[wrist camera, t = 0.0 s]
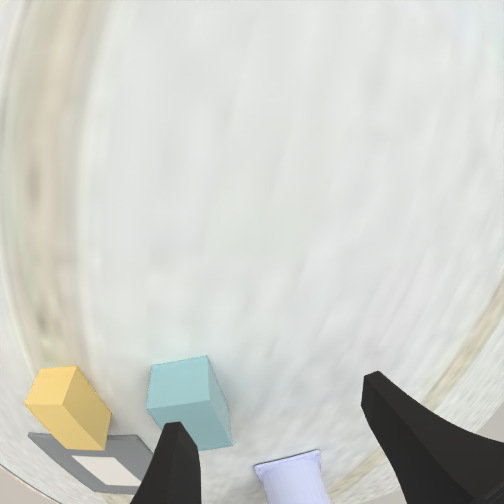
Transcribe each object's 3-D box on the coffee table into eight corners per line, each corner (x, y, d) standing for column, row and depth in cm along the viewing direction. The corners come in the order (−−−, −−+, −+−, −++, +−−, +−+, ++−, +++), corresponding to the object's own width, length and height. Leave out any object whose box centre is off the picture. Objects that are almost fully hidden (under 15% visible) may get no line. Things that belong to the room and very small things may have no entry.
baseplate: (189, 489, 31) (190, 494, 30) (94, 488, 30) (94, 492, 29) (136, 434, 24) (135, 440, 24) (28, 432, 23) (27, 436, 23)
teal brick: (227, 404, 24) (233, 445, 20) (180, 412, 24) (179, 453, 20) (207, 354, 21) (209, 399, 17) (152, 364, 21) (145, 408, 17)
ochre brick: (112, 412, 23) (104, 450, 19) (76, 413, 23) (66, 448, 19) (77, 364, 20) (62, 404, 16) (41, 368, 20) (23, 404, 16)
